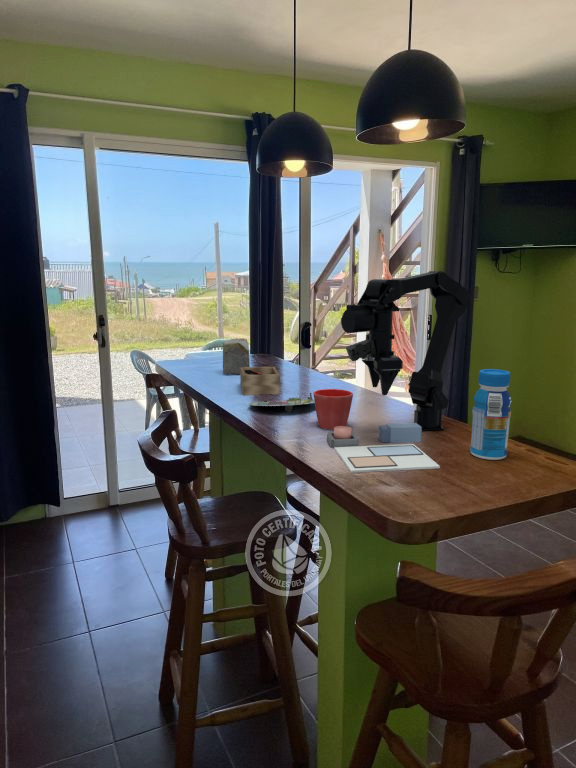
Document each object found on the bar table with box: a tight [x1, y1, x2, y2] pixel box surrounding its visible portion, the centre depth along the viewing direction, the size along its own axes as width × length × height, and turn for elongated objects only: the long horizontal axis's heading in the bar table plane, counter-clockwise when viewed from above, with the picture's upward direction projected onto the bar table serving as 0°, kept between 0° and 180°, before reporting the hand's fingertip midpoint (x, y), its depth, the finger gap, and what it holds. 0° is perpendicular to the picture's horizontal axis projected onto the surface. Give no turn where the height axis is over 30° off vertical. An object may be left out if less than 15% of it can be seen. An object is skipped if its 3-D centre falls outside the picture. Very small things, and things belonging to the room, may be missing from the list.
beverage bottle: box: [469, 368, 513, 461], centre depth 125 cm, size 8×8×20 cm
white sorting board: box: [333, 443, 441, 474], centre depth 125 cm, size 20×16×1 cm
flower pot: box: [313, 388, 354, 431], centre depth 150 cm, size 11×11×10 cm
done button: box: [333, 425, 353, 439], centre depth 135 cm, size 4×4×3 cm
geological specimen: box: [222, 337, 251, 376], centre depth 228 cm, size 11×6×15 cm, turn 105°
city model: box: [248, 392, 315, 413], centre depth 173 cm, size 25×23×6 cm
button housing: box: [326, 431, 360, 449], centre depth 135 cm, size 7×7×2 cm
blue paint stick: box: [377, 422, 422, 444], centre depth 138 cm, size 10×4×4 cm, turn 97°
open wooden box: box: [239, 366, 281, 396], centre depth 198 cm, size 13×17×7 cm
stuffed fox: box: [245, 369, 263, 375], centre depth 198 cm, size 8×11×12 cm
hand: (379, 391), depth 138 cm, fingers open, 9 cm apart
